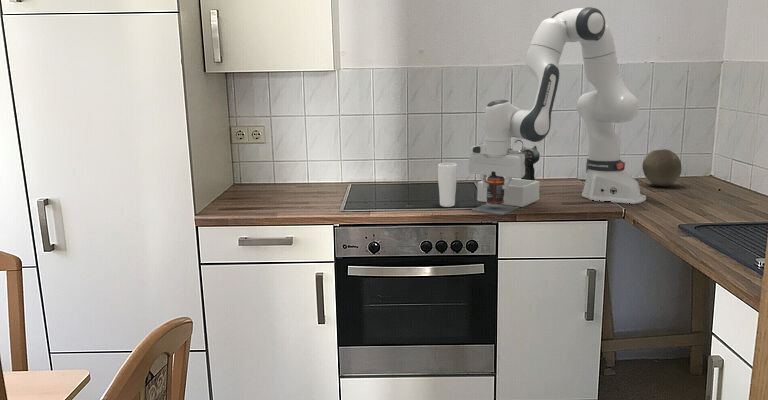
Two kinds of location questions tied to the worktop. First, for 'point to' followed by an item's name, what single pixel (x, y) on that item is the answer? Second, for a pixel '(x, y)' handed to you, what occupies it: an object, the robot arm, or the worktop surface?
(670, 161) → the cantaloupe
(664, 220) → the worktop surface
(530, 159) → the ceramic cat
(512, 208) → the mat
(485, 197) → the box
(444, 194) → the drinking glass
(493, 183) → the supplement bottle
